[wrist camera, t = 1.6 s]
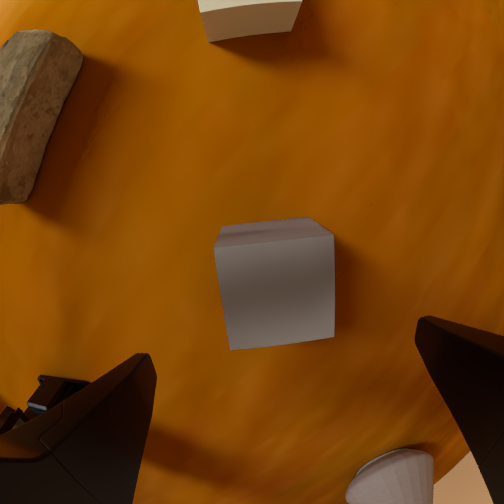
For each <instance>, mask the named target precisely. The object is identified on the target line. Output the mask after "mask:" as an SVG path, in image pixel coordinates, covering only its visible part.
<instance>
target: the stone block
mask: <svg viewBox="0 0 504 504" xmlns="http://www.w3.org/2000/svg"><path fill="white" fill-rule="evenodd" d="M82 61H83V55H82V53H81V51H80V50H79V49H78V48H77V47H76V46H75V45H74V44H73V43H72V42H71V41H69V40H68V39H67V38H65V37H61V36H59V35H57V34H55V33H53V32H51V31H48V30H37V29H35V30H23V31H18V32H16V33H15V34H14V35H13V36H12V37H11V38H10V39H9V40H7V41H6V42H5V43H4V44H3V45H2V46H1V48H0V204H2V205H3V204H19V203H22V202H25V201H27V198H28V196H29V194H30V192H31V190H32V188H33V186H34V183H35V178H36V174H37V172H38V169H39V167H40V165H41V162H42V158H43V155H44V151H45V147H46V145H47V142H48V140H49V137H50V135H51V133H52V131H53V128H54V126H55V123H56V120H57V118H58V116H59V114H60V111H61V108H62V106H63V103H64V101H65V99H66V97H67V96H68V94H69V92H70V90H71V88H72V86H73V84H74V81H75V79H76V77H77V75H78V73H79V70H80V68H81V64H82Z"/></svg>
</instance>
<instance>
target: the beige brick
mask: <svg viewBox="0 0 504 504" xmlns="http://www.w3.org/2000/svg"><path fill="white" fill-rule="evenodd" d="M198 3H199V9H200V14H201V17H202V21H203V25H204V28H205V32H206V35H207V39H208V42H213V41H219V40H224V39H230V38H236V37H242V36H250V35H258V34H267V33H277V32H291V30H292V28H293V25H294V22H295V20H296V17H297V14H298V12H299V9H300V6H301V4H302V0H198Z"/></svg>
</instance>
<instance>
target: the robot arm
mask: <svg viewBox="0 0 504 504" xmlns="http://www.w3.org/2000/svg"><path fill="white" fill-rule="evenodd" d="M415 344H416V347H417V349H418V351H419V353H420V355H421V357H422V359H423V361H424V363H425V366H426V368H427V370H428V372H429V374H430V376H431V378H432V380H433V382H434V383H435V385H436V387H437V388H438V390H439V392H440V394H441V395H442V397H443V399H444V401H445V402H446V404H447V406H448V408H449V410H450V411H451V413H452V415H453V417H454V419H455V421H456V423H457V424H458V426H459V428H460V430H461V432H462V434H463V436H464V438H465V440H466V442H467V444H468V446H469V448H470V450H471V452H472V454H473V456H474V458H475V461H476V463H477V465H478V467H479V469H480V472H481V474H482V476H483V479H484V481H485V484H486V486H487V488H488V490H489V493H490V496H491V498H492V501H493V503H494V504H504V336H501V335H497V334H494V333H490V332H487V331H483V330H479V329H476V328H472V327H469V326H465V325H462V324H458V323H455V322H451V321H447V320H444V319H440V318H437V317H433V316H430V315H429V316H424V317H421V318H419V320H418V323H417V328H416V334H415ZM38 381H39V383H40V386H39V387H38V388H37V390H36V391H35V392H34V393H33V395H32V396H31V397H30V399H29V400H28V402H27V405H28V408H27V409H26V411H25V412H24V413H23V411H22V410H21V409H20V408H19V407H18V408H17V409H16V410H14V409H12V408H10V407H8V406H7V407H6V408H5V410H4V411H3V412H2V414H1V415H0V504H132V503H133V497H134V492H135V488H136V483H137V478H138V473H139V469H140V464H141V460H142V456H143V451H144V447H145V443H146V439H147V434H148V430H149V426H150V422H151V418H152V412H153V404H154V396H155V389H156V381H157V375H156V371H155V368H154V365H153V363H152V360H151V357H150V355H149V354H148V353H137V354H135V355H133V356H132V357H130V358H129V359H127V360H126V361H124V362H123V363H121V364H120V365H118V366H117V367H115V368H114V369H112V370H111V371H109V372H108V373H106V374H104V375H103V376H101V377H100V378H98V379H97V380H95V381H94V382H92V383H91V384H89V383H88V382H86V381H81V380H73V379H65V378H58V377H51V376H45V375H40V376H39V377H38Z"/></svg>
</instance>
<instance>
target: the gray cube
mask: <svg viewBox="0 0 504 504" xmlns="http://www.w3.org/2000/svg"><path fill="white" fill-rule="evenodd" d="M214 254H215V261H216V267H217V274H218V280H219V287H220V293H221V299H222V305H223V311H224V317H225V323H226V329H227V335H228V340H229V346H230V350H238V349H249V348H258V347H267V346H276V345H284V344H291V343H299V342H305V341H312V340H318V339H325V338H331V337H334V326H335V253H334V235H333V234H332V233H331V232H329V231H328V230H326V229H325V228H324V227H322V226H321V225H319V224H318V223H316V222H315V221H314V220H312V219H311V218H309V217H303V218H293V219H283V220H274V221H264V222H255V223H246V224H237V225H228V226H222V228H221V231H220V233H219V236H218V238H217V241H216V243H215V246H214Z"/></svg>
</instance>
